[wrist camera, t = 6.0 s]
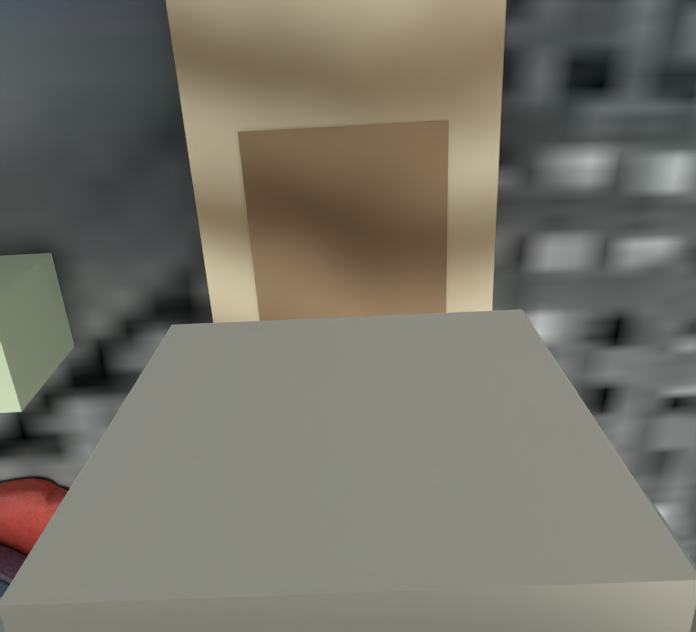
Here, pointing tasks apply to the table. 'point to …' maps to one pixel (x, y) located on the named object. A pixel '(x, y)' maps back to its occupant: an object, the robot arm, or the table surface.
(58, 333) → the sage cube
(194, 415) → the cream block
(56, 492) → the stacking bear
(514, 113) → the table surface
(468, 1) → the base board
